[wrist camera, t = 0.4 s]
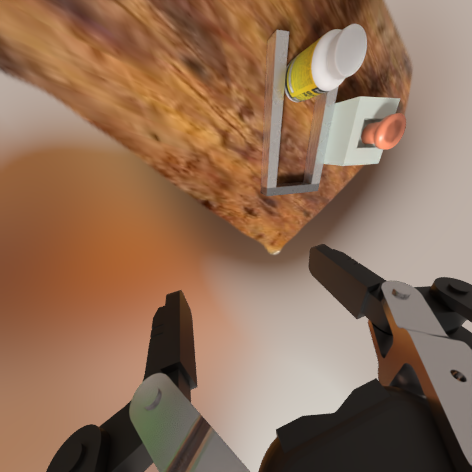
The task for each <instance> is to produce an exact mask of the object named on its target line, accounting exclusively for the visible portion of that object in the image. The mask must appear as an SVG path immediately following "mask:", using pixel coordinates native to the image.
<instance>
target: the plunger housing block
mask: <svg viewBox="0 0 472 472" xmlns="http://www.w3.org/2000/svg"><path fill="white" fill-rule="evenodd" d="M399 101H400V99H399V98H381V97H364V96H360V97H356V98H353V99H349V100H346V101H342V102H339V103H335V106H334V111H333V116H332V122H331V127H330V132H329V137H328V142H327V147H326V152H325V157H324V162H323V164H332V165H341V166H347V165H363V164H377V163H379V160H380V157H381V154H382V151H383V149H378V148H376V146H375V144H364V143H363V142H362V140H361V135H362V132H363V130H364V128H365V127H366V126H367V125H368V124H370V123H375V122H381V121H382V120H383V119H384V118H385V117H386V116H388V115H391V114H395V113H396V110H397V107H398V104H399Z"/></svg>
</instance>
